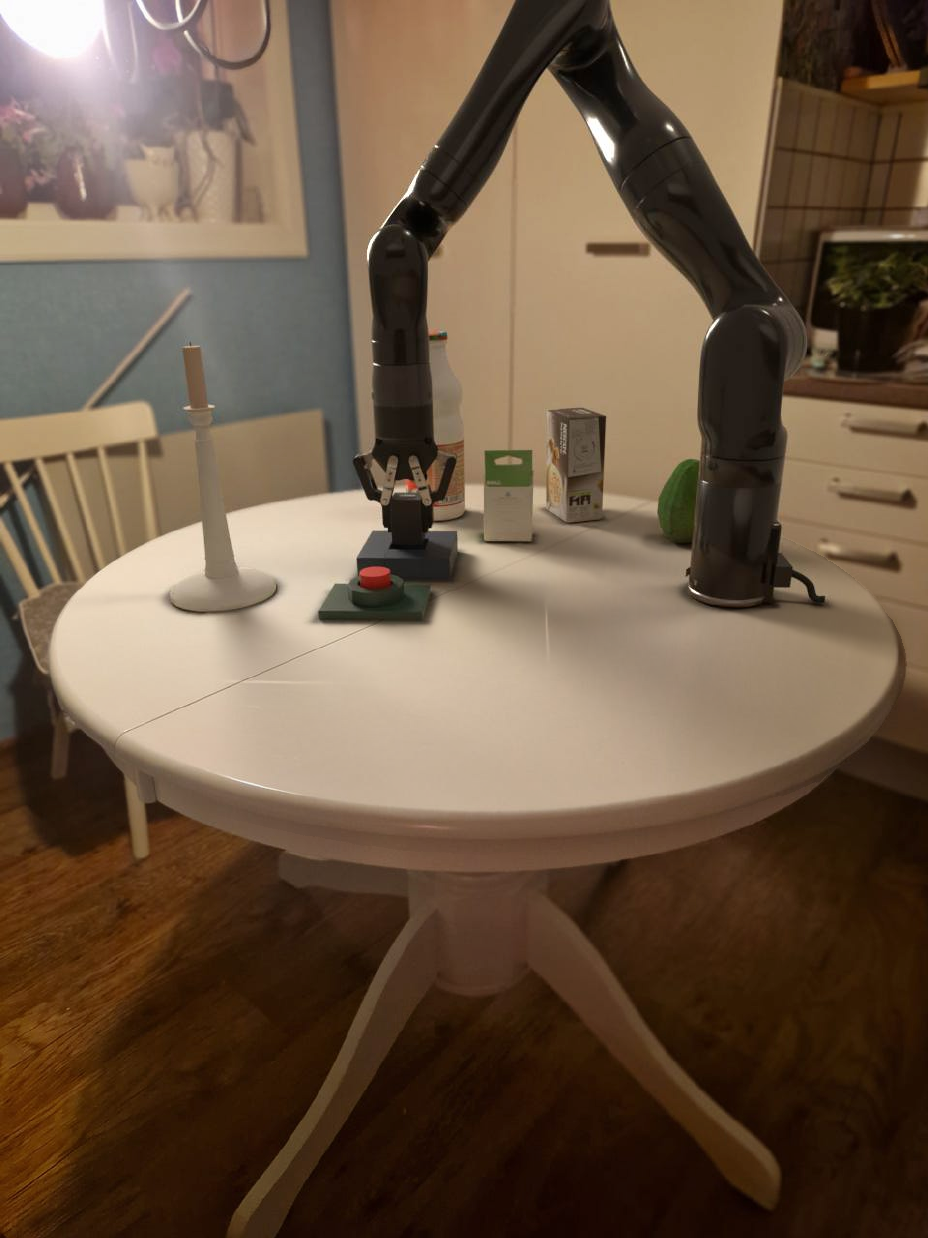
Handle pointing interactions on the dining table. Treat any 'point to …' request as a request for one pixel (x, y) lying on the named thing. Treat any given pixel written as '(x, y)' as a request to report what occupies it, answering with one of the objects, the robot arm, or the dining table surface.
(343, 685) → the dining table surface
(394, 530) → the block
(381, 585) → the power button
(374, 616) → the red push button plate
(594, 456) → the coffee box
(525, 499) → the ink box
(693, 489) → the avocado
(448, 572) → the square socket block
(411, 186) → the robot arm
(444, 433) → the fruit juice
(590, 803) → the dining table surface
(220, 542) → the candlestick
